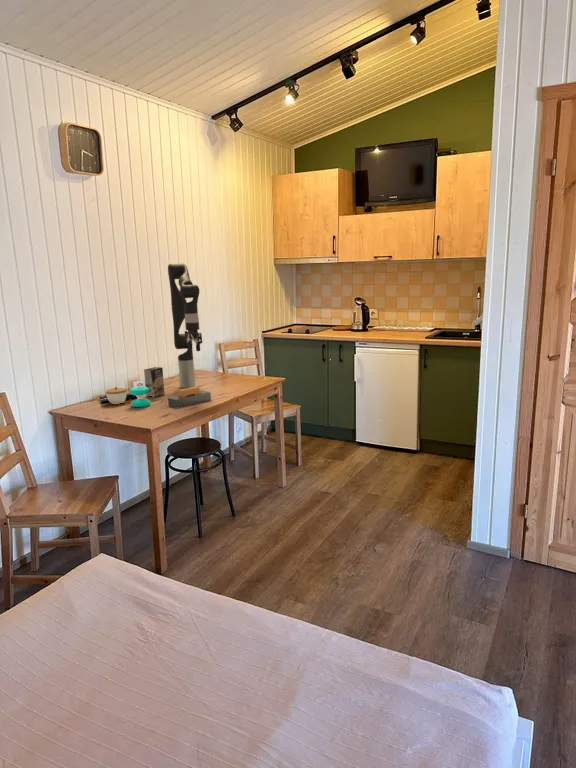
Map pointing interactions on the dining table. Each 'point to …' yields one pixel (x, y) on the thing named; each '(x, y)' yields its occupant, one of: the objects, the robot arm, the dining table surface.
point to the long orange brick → (188, 391)
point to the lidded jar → (116, 395)
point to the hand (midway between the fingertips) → (194, 350)
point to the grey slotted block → (189, 399)
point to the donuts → (142, 401)
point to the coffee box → (154, 381)
